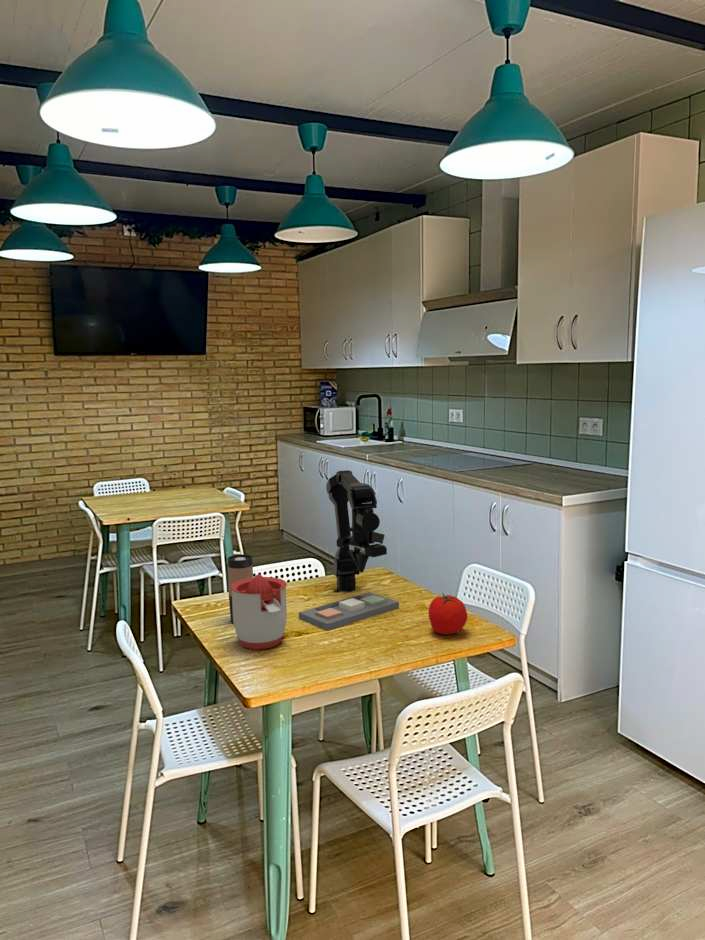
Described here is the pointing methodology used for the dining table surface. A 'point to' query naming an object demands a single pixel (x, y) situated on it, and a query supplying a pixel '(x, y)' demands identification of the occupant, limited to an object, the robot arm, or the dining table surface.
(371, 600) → the key sage
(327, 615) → the key terracotta
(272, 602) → the citrus juicer
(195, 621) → the dining table surface
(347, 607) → the key offwhite
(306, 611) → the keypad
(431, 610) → the tomato
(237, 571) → the travel mug
